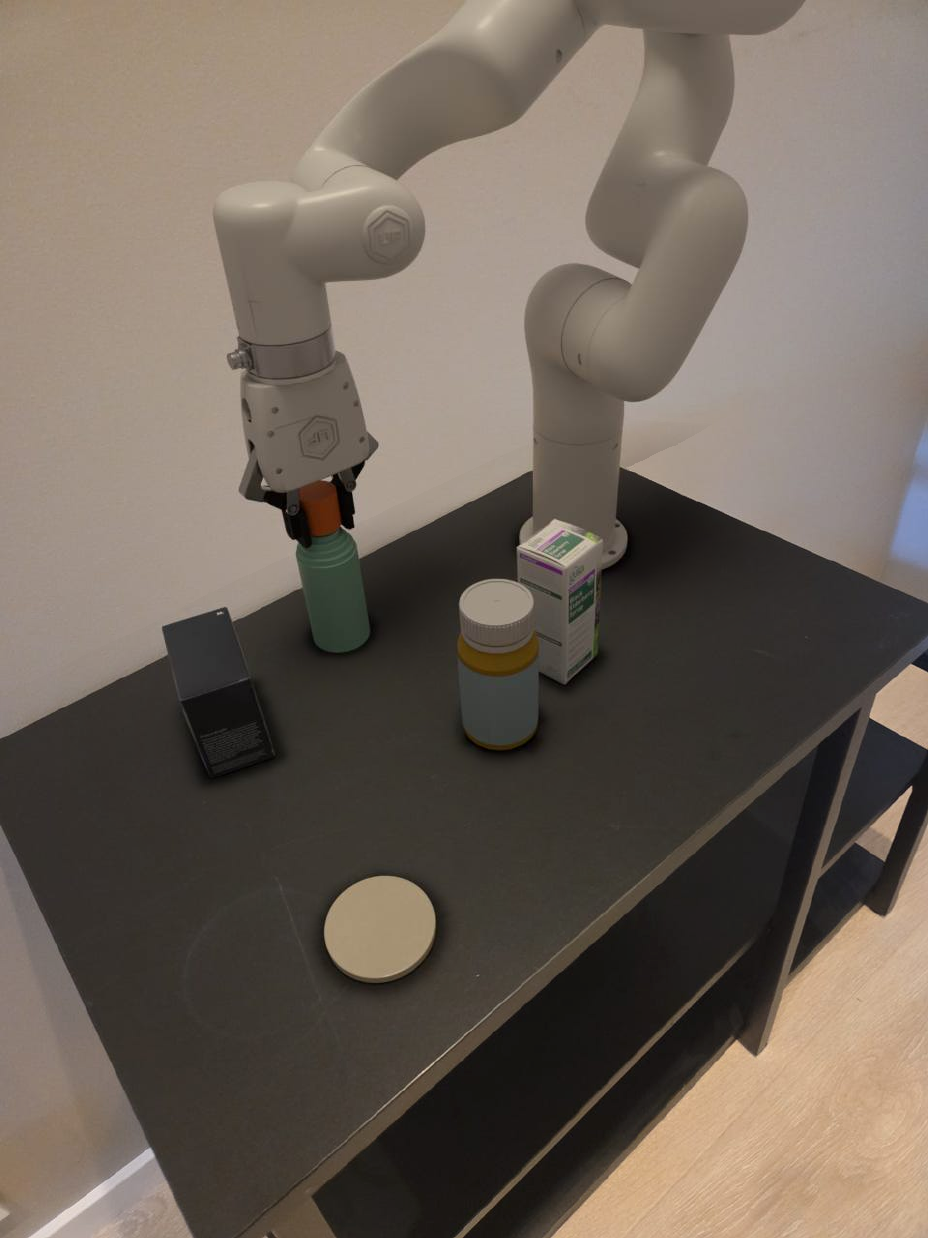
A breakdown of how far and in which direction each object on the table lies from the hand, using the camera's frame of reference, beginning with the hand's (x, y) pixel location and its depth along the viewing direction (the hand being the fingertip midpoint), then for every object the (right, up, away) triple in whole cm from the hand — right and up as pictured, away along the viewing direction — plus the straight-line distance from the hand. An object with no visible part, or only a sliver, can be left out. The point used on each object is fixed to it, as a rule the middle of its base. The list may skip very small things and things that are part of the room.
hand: (322, 530), depth 83 cm
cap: (0, +1, -1) cm, 1 cm away
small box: (-8, -19, -1) cm, 21 cm away
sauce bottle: (+1, -10, +9) cm, 13 cm away
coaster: (+7, -32, -18) cm, 37 cm away
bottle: (+17, -19, -2) cm, 25 cm away
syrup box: (+23, -13, +4) cm, 27 cm away
